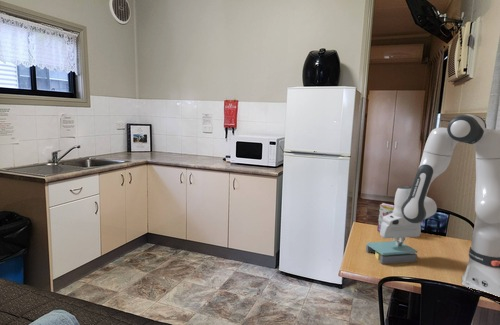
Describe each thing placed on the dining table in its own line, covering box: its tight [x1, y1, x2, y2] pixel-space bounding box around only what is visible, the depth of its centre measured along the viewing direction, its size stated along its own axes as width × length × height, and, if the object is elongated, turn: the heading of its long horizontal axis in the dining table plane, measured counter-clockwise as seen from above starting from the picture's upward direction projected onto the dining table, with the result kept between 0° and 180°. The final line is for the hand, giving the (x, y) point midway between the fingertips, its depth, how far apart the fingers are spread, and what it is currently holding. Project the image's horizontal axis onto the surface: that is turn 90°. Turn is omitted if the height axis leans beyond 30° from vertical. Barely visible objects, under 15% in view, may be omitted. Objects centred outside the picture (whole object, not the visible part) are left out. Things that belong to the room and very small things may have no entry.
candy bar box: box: [377, 202, 395, 232], centre depth 188 cm, size 11×5×16 cm, turn 48°
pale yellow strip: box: [374, 251, 411, 261], centre depth 156 cm, size 4×16×3 cm, turn 89°
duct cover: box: [365, 240, 418, 255], centre depth 157 cm, size 14×18×1 cm
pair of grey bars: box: [365, 244, 418, 265], centre depth 157 cm, size 14×18×4 cm
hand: (398, 245), depth 158 cm, fingers closed
